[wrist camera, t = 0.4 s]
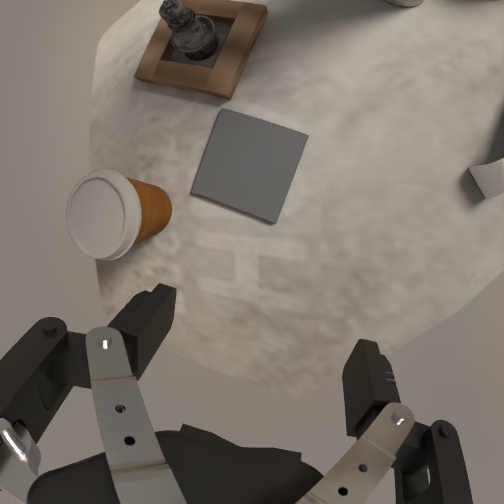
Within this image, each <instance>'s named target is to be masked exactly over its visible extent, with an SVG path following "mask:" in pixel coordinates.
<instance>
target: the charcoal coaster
mask: <svg viewBox="0 0 504 504" xmlns="http://www.w3.org/2000/svg"><path fill="white" fill-rule="evenodd" d="M307 139H308V135H306V134H303V133H301V132H298V131H295V130H292V129H289V128H286V127H283V126H280V125H277V124H274V123H271V122H268V121H264V120H261V119H258V118H255V117H251V116H248V115H244V114H241V113H237V112H234V111H230V110H226V109H223V108H221V111H220V114H219V116H218V119H217V121H216V124H215V127H214V129H213V132H212V135H211V137H210V140H209V143H208V146H207V148H206V151H205V154H204V157H203V160H202V163H201V165H200V168H199V171H198V174H197V177H196V180H195V183H194V186H193V189H192V192H194V193H197V194H199V195H202V196H205V197H208V198H210V199H213V200H216V201H218V202H221V203H224V204H226V205H229V206H232V207H234V208H237V209H240V210H242V211H245V212H248V213H250V214H253V215H256V216H258V217H261V218H263V219H266V220H268V221H271V222H274V223H276V222H277V220H278V217H279V214H280V212H281V209H282V206H283V204H284V201H285V198H286V196H287V193H288V190H289V187H290V185H291V182H292V179H293V177H294V174H295V171H296V169H297V166H298V163H299V161H300V158H301V155H302V152H303V150H304V147H305V144H306V142H307Z"/></svg>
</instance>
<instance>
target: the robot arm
mask: <svg viewBox="0 0 504 504" xmlns="http://www.w3.org/2000/svg"><path fill="white" fill-rule="evenodd" d="M386 1H388V2H390V3H393V4H396V5H399V6H405V7H412V6H417V5H420V4H421V3H422V2H423V1H424V0H386ZM175 301H176V288H174V287H170V286H167V285H164V284H161V283H159V284H158V285H157V286H156V287H155V288H154V289H153V291H152V292H148V291H143V292H141V293H138V294H136V295H135V296H134V297H133V298H132V299H131V300H130V301H129V303H127V305H126V306H125V307H124V308H123V309H122V310H121V311H120V312H119V313H118V314H117V316H116V317H115V318H114V319H113V320H112V321H111V322H110V323H109V325H108V326H107V327H105V326H102V327H96V328H94V329H92V330H90V331H89V332H88V333H87V334H81V333H75V332H69V331H67V326H66V324H65V322H64V321H62V320H61V319H59V318H55V317H46V318H43V319H40V320H39V321H38V322H36V324H34V325H33V326H32V327H31V328H30V329H29V330H28V331H27V332H26V334H24V335H23V337H22V338H21V339H20V340H19V341H18V342H17V343H16V344H15V345H14V346H13V347H12V348H11V349H10V350H9V351H8V352H7V353H6V354H5V356H4V357H3V358H2V359H1V360H0V491H4V492H5V493H7V494H8V495H10V496H11V497H13V498H14V499H16V500H17V501H18V502H20V503H21V504H364V502H365V501H366V500H367V498H368V497H369V496H370V495H371V493H372V492H373V491H374V489H375V488H376V487H377V485H378V484H379V482H380V481H381V480H382V478H383V477H384V476H385V474H386V473H387V471H388V470H389V468H390V467H391V468H394V473H395V490H396V504H473V501H472V495H471V490H470V485H469V480H468V475H467V470H466V466H465V461H464V457H463V453H462V449H461V446H460V441H459V437H458V434H457V431H456V429H455V428H454V427H453V425H452V424H450V423H449V422H447V421H444V420H437V421H435V422H434V423H433V424H432V425H431V426H430V427H429V426H427V425H424V424H421V423H418V422H416V421H415V419H414V415H413V413H412V412H411V411H410V409H408V407H406V406H405V405H403V404H401V401H400V397H399V394H398V390H397V386H396V382H395V381H394V380H395V379H394V375H393V371H392V368H391V364H390V363H389V361H388V360H387V358H386V357H385V356H384V355H381V354H380V351H379V348H378V344H377V342H374V341H369V340H365V339H359V340H358V342H357V344H356V345H355V347H354V349H353V351H352V353H351V355H350V357H349V358H348V360H347V362H346V364H345V366H344V369H343V374H342V379H343V390H344V402H345V415H346V430H347V436H352V437H357V442H356V443H355V444H354V445H353V446H352V447H351V448H350V449H349V451H348V452H347V453H346V454H345V455H344V456H343V457H342V458H341V459H340V460H339V461H338V463H337V464H336V465H335V466H334V467H333V468H332V469H331V470H330V471H329V472H328V473H327V474H326V475H325V476H323V475H322V474H321V473H320V472H319V471H318V470H316V469H315V468H313V467H312V466H310V465H308V464H306V463H305V462H302V461H301V453H299V452H293V451H288V450H282V449H277V448H249V447H248V448H247V447H240V446H237V445H235V444H233V443H231V442H229V441H227V440H225V439H223V438H221V437H219V436H217V435H216V434H214V433H212V432H208V431H205V430H202V429H198V428H195V427H192V426H189V425H186V424H183V425H182V427H181V429H180V431H172V430H167V431H158V432H154V430H153V428H152V425H151V422H150V419H149V416H148V413H147V410H146V407H145V405H144V401H143V398H142V395H141V392H140V389H139V386H138V382H137V381H138V380H139V379H140V377H141V375H142V374H143V372H144V371H145V369H146V367H147V366H148V364H149V363H150V361H151V359H152V357H153V356H154V354H155V353H156V351H157V350H158V348H159V346H160V345H161V343H162V342H163V340H164V338H165V337H166V335H167V334H168V332H169V330H170V328H171V326H172V323H173V318H174V310H175ZM73 386H79V387H83V388H89V389H92V393H93V399H94V405H95V410H96V414H97V420H98V424H99V429H100V433H101V437H102V441H103V445H104V449H105V452H103V453H100V454H98V455H95V456H92V457H89V458H87V459H84V460H81V461H78V462H76V463H73V464H70V465H67V466H64V467H61V468H58V469H55V470H52V471H48V472H46V473H44V474H42V475H41V476H39V475H38V467H39V464H40V461H41V453H40V450H39V448H38V447H37V445H36V444H37V442H38V441H39V439H40V437H41V436H42V434H43V432H44V431H45V429H46V428H47V426H48V425H49V423H50V421H51V420H52V418H53V417H54V415H55V414H56V412H57V411H58V409H59V408H60V406H61V404H62V403H63V401H64V400H65V398H66V397H67V395H68V394H69V392H70V391H71V389H72V388H73ZM428 468H429V473H430V484H429V481H428V474H427V469H428Z"/></svg>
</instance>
